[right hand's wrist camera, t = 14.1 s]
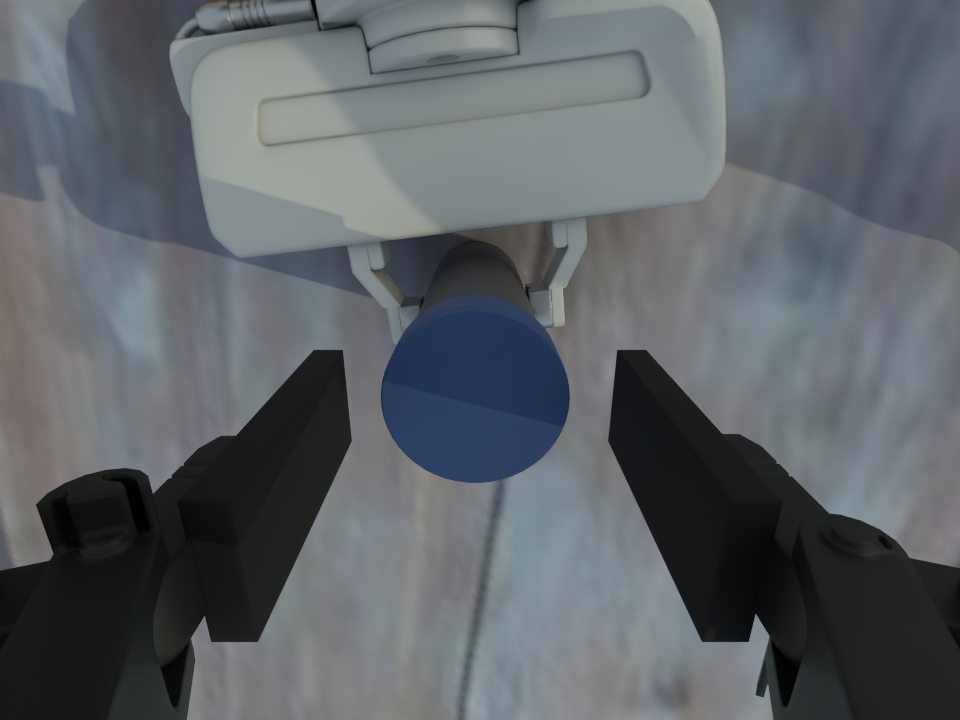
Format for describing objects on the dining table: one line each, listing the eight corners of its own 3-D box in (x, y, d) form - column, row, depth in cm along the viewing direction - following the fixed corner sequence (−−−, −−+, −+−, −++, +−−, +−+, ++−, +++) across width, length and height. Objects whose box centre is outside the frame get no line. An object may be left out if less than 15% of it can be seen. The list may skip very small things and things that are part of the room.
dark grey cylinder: (420, 302, 29) (364, 427, 15) (458, 226, 28) (437, 283, 13) (493, 339, 30) (508, 492, 16) (534, 267, 29) (591, 362, 14)
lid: (364, 408, 16) (350, 437, 15) (437, 263, 15) (431, 275, 13) (508, 474, 17) (512, 509, 15) (591, 343, 16) (606, 365, 14)
